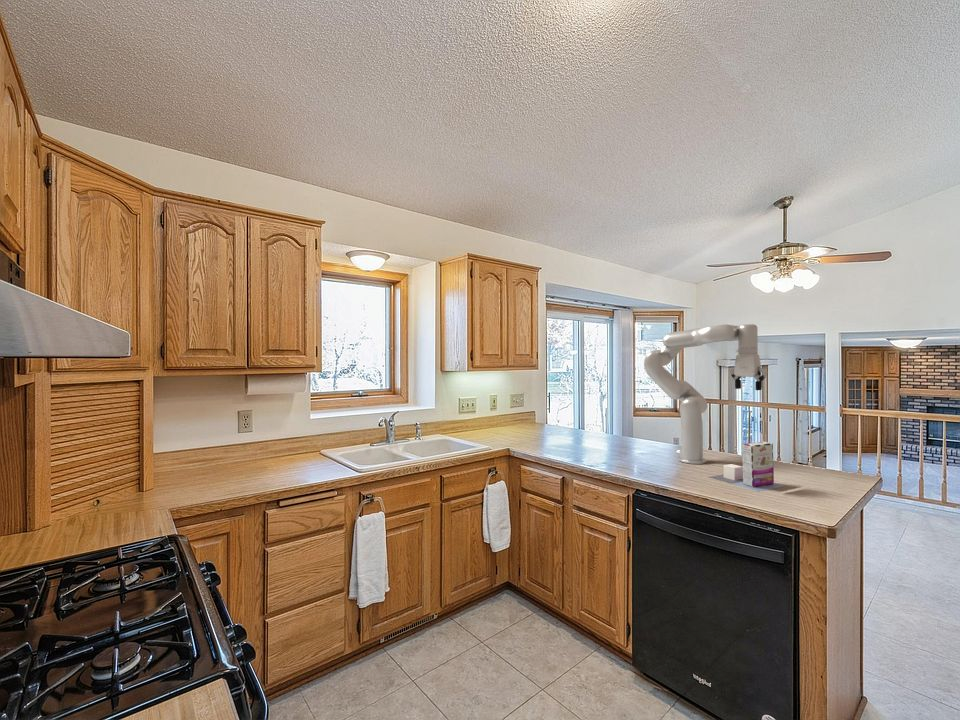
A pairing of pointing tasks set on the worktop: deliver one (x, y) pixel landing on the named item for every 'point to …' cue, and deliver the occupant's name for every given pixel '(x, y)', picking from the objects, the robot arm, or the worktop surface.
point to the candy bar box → (757, 464)
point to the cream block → (733, 472)
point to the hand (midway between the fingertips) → (748, 389)
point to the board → (740, 483)
